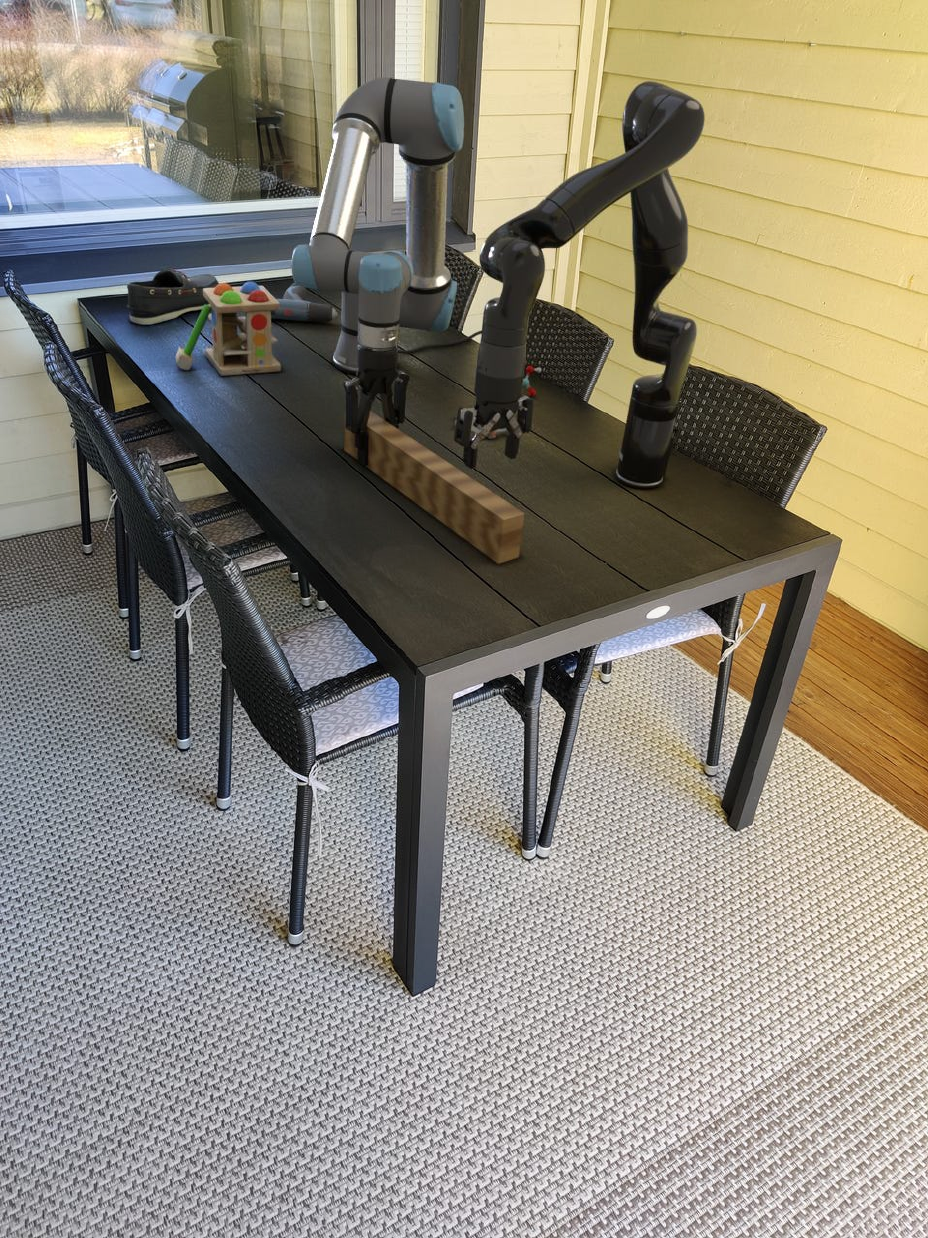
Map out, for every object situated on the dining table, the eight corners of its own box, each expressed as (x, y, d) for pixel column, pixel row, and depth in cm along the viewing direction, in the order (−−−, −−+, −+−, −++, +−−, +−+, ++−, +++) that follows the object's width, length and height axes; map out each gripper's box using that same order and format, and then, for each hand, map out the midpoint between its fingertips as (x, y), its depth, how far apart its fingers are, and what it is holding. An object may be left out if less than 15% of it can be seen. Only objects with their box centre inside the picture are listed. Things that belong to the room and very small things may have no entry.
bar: (344, 450, 197) (344, 410, 193) (363, 446, 200) (364, 406, 195) (498, 564, 166) (503, 519, 161) (519, 557, 168) (524, 513, 163)
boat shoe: (239, 303, 270) (236, 264, 265) (147, 326, 246) (142, 284, 241) (205, 294, 276) (202, 256, 270) (112, 317, 252) (106, 275, 247)
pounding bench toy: (183, 379, 220) (176, 299, 210) (169, 357, 231) (162, 280, 221) (282, 371, 230) (280, 294, 220) (264, 350, 240) (262, 276, 230)
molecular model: (537, 396, 220) (523, 352, 219) (499, 410, 224) (485, 367, 222) (549, 394, 231) (536, 353, 229) (513, 408, 234) (500, 367, 233)
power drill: (344, 304, 276) (335, 327, 259) (277, 298, 275) (264, 321, 258) (344, 285, 273) (335, 306, 256) (277, 279, 272) (264, 300, 255)
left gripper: (347, 357, 173) (345, 477, 186) (429, 344, 183) (421, 458, 196) (325, 344, 178) (325, 461, 191) (406, 332, 187) (400, 444, 201)
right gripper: (479, 382, 148) (469, 479, 157) (550, 369, 155) (537, 462, 165) (450, 366, 153) (442, 461, 162) (520, 353, 160) (509, 445, 169)
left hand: (374, 460), depth 193 cm, fingers closed on bar, 5 cm apart
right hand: (490, 461), depth 163 cm, fingers open, 8 cm apart
